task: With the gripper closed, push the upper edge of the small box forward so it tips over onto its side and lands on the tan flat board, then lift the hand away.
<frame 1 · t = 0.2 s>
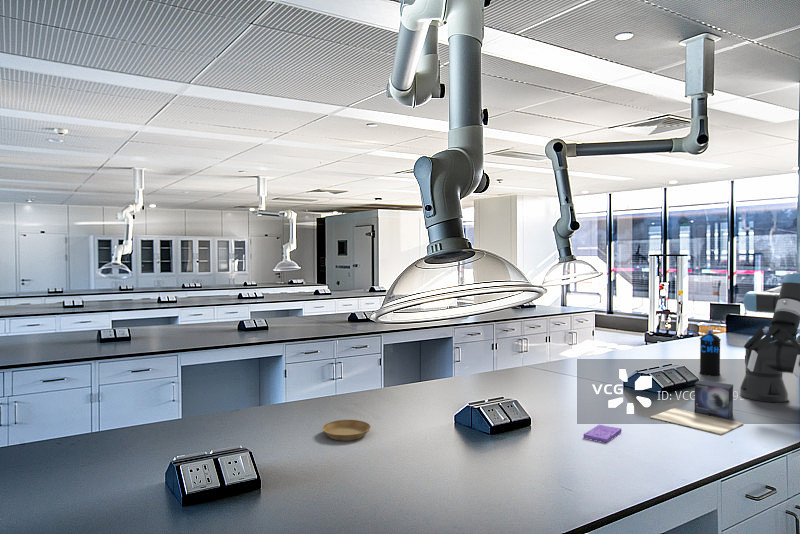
hand: (772, 372, 181), 16 cm above the counter, tool tilted 35°, fingers open, 13 cm apart
plant saucer: (346, 435, 170), on the counter
sponges: (602, 437, 167), on the counter
aerosol can: (709, 374, 248), on the counter
tan flat board: (695, 421, 180), on the counter
small box: (713, 414, 188), on the counter
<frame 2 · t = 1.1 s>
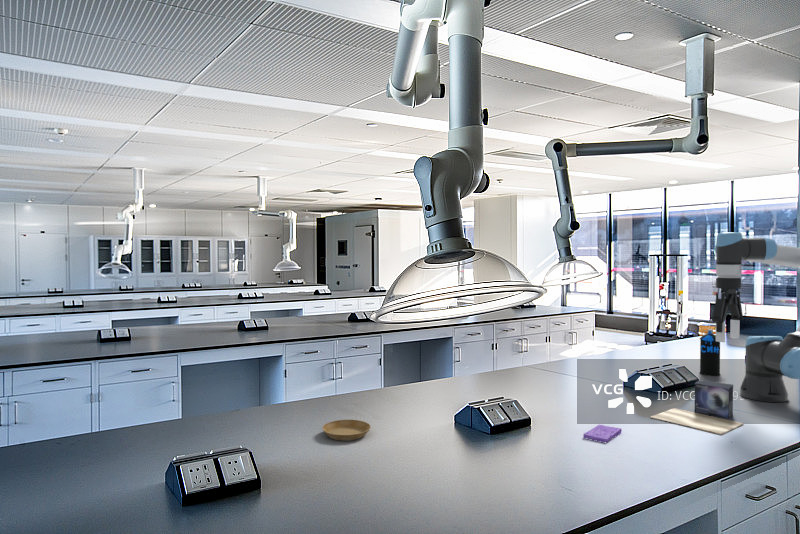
hand: (727, 340, 193), 24 cm above the counter, tool pointing down, fingers open, 11 cm apart
nothing on the counter moved.
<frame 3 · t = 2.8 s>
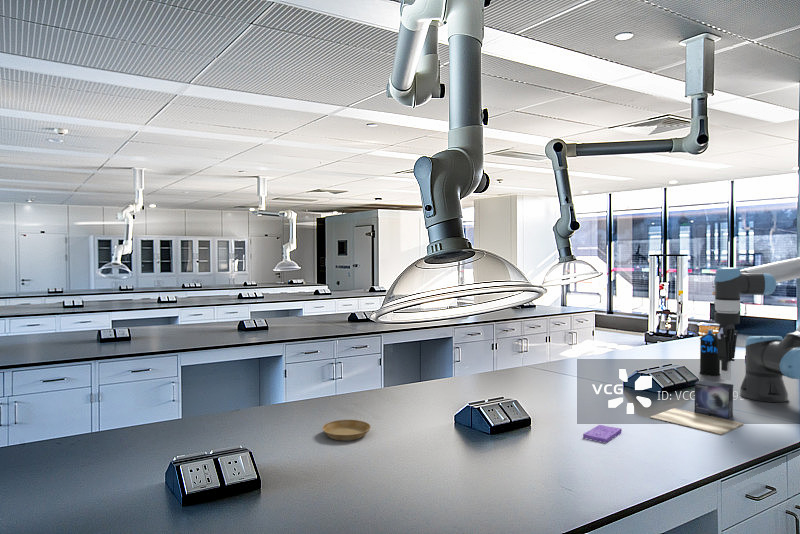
hand: (725, 379, 193), 10 cm above the counter, tool pointing down, fingers closed
nothing on the counter moved.
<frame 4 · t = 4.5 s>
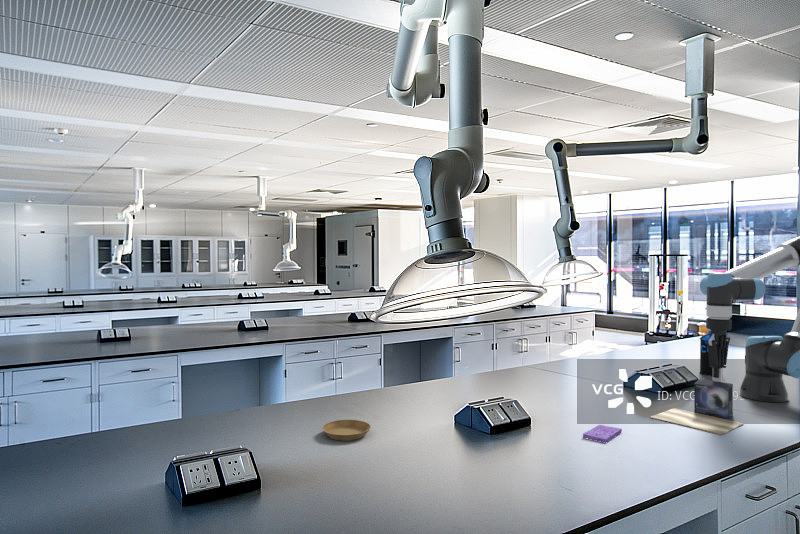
hand: (717, 386, 190), 9 cm above the counter, tool pointing down, fingers closed
small box: (713, 414, 188), on the counter, touching gripper
everything else where it was.
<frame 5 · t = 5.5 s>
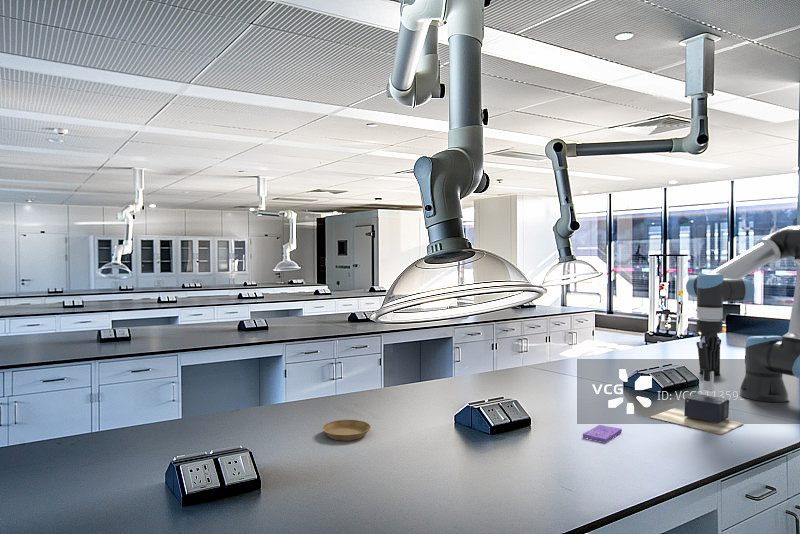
hand: (708, 390, 185), 9 cm above the counter, tool pointing down, fingers closed
small box: (711, 405, 186), point 3 cm above the counter, touching tan flat board
everything else where it was.
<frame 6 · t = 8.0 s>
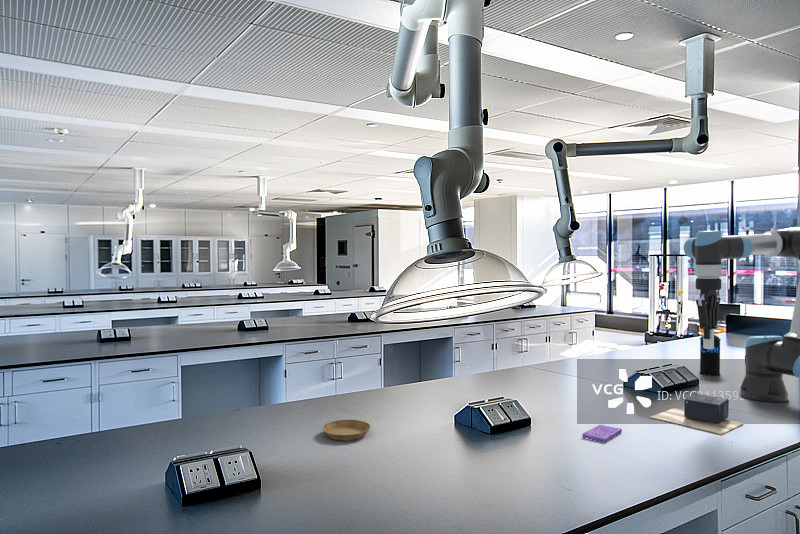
hand: (708, 348, 184), 23 cm above the counter, tool pointing down, fingers closed
nothing on the counter moved.
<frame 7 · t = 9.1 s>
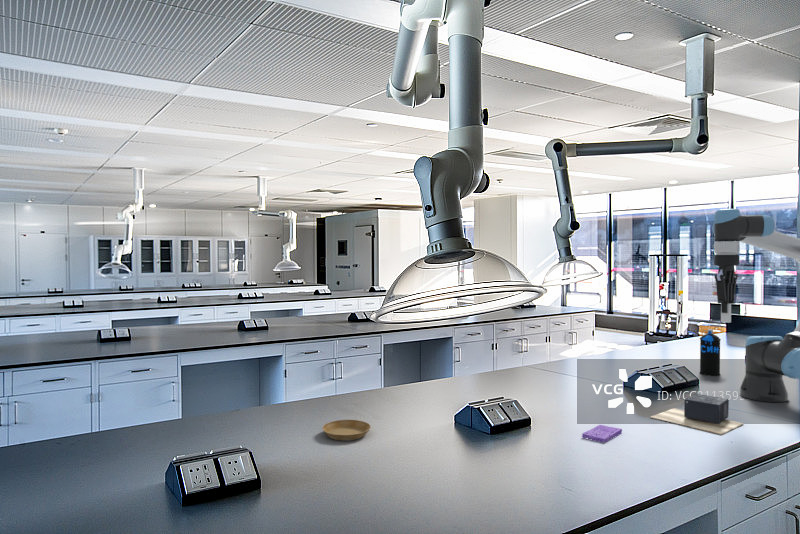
hand: (725, 322, 192), 30 cm above the counter, tool pointing down, fingers closed
nothing on the counter moved.
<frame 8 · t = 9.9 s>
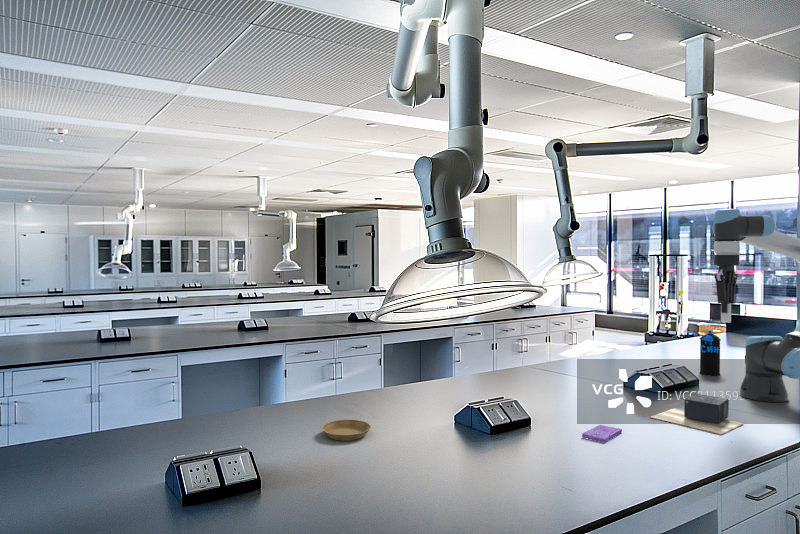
hand: (725, 322, 192), 30 cm above the counter, tool pointing down, fingers closed
nothing on the counter moved.
at the end: small box tilted 88°; small box inside the target area (4.9 cm from its centre), point 3.5 cm above the counter; small box touching tan flat board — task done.
